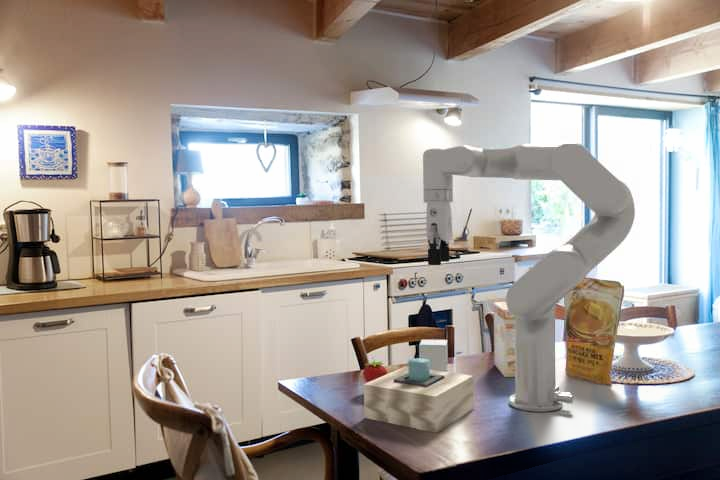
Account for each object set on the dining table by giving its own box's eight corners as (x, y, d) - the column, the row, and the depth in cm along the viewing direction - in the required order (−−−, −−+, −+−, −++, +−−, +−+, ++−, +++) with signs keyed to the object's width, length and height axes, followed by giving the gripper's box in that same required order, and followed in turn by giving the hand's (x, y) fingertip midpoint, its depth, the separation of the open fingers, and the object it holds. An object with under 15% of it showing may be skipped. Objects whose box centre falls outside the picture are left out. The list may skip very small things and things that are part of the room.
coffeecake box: (529, 377, 176) (528, 308, 176) (504, 377, 177) (502, 309, 176) (517, 364, 191) (515, 301, 190) (493, 364, 192) (492, 301, 191)
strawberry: (373, 398, 160) (372, 360, 160) (359, 391, 167) (358, 355, 166) (393, 394, 163) (391, 357, 163) (378, 388, 170) (377, 352, 169)
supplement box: (447, 392, 164) (446, 345, 163) (419, 391, 165) (418, 344, 165) (448, 384, 171) (447, 339, 171) (421, 383, 173) (420, 338, 172)
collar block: (473, 408, 150) (473, 373, 150) (436, 432, 135) (435, 393, 134) (406, 396, 161) (405, 363, 161) (364, 417, 146) (363, 381, 145)
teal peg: (433, 388, 148) (433, 359, 148) (423, 394, 144) (422, 364, 144) (415, 385, 151) (415, 357, 151) (405, 391, 147) (404, 361, 147)
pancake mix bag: (572, 368, 184) (571, 274, 182) (627, 384, 167) (626, 280, 165) (555, 372, 181) (554, 276, 179) (609, 388, 164) (608, 282, 162)
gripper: (445, 196, 151) (445, 266, 152) (459, 197, 167) (460, 260, 168) (415, 197, 153) (416, 266, 154) (431, 197, 170) (432, 260, 171)
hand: (439, 263), depth 161 cm, fingers open, 9 cm apart
